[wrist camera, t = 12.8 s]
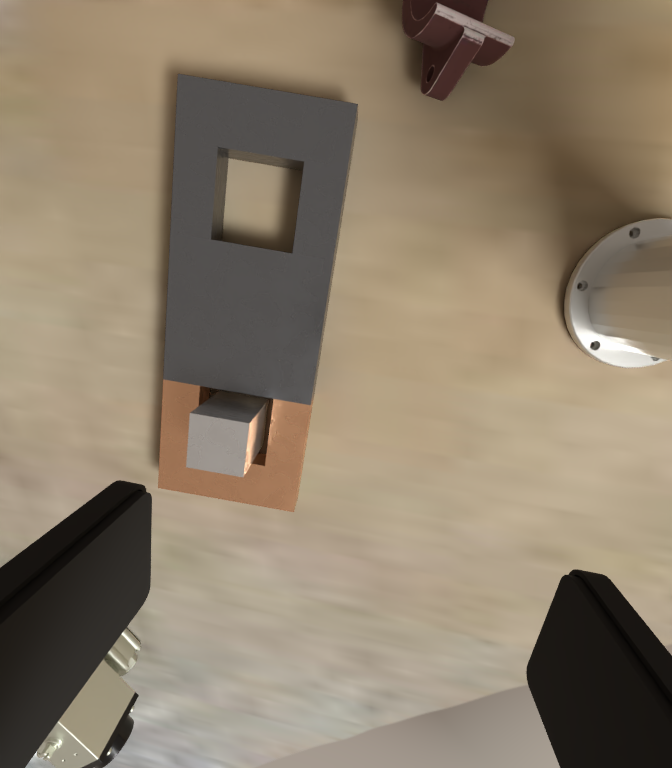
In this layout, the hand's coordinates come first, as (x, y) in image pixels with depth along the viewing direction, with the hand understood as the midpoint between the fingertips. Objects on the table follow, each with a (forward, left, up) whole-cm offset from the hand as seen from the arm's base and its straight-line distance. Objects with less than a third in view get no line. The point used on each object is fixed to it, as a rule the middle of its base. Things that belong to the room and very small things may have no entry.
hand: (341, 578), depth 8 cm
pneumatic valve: (+22, +40, -28) cm, 54 cm away
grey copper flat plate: (+10, -2, -28) cm, 30 cm away
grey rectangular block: (+10, +8, -28) cm, 31 cm away
